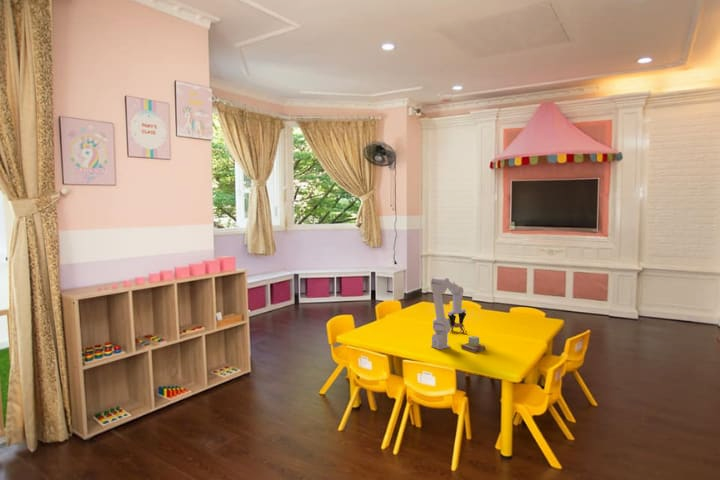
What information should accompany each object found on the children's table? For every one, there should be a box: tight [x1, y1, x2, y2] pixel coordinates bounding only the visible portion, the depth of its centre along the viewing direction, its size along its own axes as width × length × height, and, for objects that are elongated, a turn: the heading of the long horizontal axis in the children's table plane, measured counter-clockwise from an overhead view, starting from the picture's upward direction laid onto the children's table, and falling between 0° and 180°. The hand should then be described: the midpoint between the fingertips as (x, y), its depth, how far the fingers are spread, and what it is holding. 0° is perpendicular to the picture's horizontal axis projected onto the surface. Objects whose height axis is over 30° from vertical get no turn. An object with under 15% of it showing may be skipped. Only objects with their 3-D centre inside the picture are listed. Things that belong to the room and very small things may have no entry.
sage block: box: [468, 335, 480, 347], centre depth 272 cm, size 4×4×5 cm
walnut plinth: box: [460, 342, 486, 354], centre depth 273 cm, size 10×10×3 cm
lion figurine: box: [447, 317, 468, 334], centre depth 310 cm, size 15×5×9 cm, turn 68°
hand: (456, 324), depth 294 cm, fingers open, 7 cm apart
